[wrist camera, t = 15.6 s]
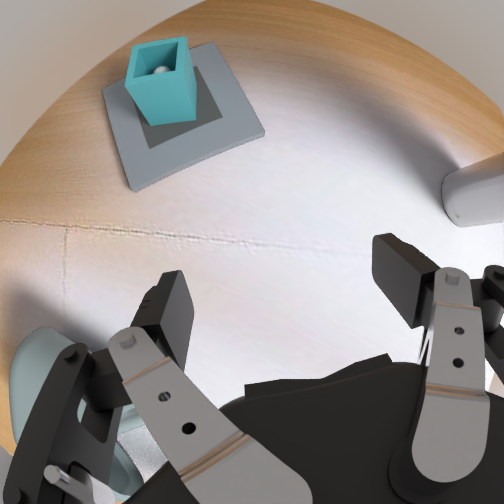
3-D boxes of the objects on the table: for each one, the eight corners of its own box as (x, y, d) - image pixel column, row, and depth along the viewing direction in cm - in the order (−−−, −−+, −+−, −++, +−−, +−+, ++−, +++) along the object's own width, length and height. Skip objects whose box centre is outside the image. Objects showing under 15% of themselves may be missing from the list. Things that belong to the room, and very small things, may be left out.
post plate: (214, 47, 34) (210, 5, 24) (264, 136, 34) (272, 98, 24) (105, 94, 33) (79, 60, 23) (135, 192, 33) (103, 172, 23)
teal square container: (196, 83, 32) (186, 36, 22) (196, 120, 32) (183, 75, 22) (153, 89, 32) (132, 46, 22) (150, 126, 32) (124, 85, 22)
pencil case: (62, 317, 32) (8, 340, 19) (182, 375, 34) (165, 429, 21) (51, 422, 31) (17, 459, 18) (148, 471, 33) (133, 522, 20)
